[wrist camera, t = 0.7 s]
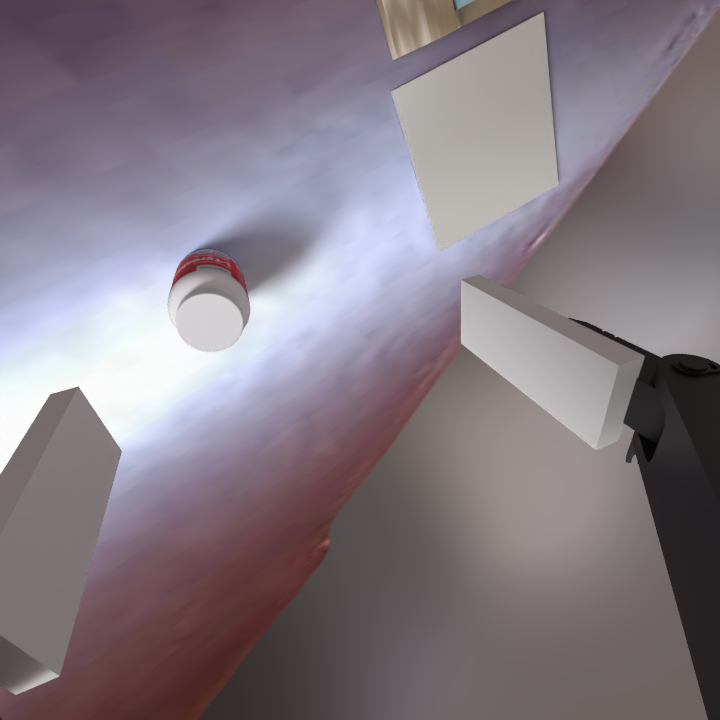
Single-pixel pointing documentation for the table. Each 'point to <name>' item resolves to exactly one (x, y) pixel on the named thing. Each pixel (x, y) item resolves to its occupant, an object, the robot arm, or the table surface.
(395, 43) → the box
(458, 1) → the lid
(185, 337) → the pill bottle
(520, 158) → the mat
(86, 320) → the table surface
